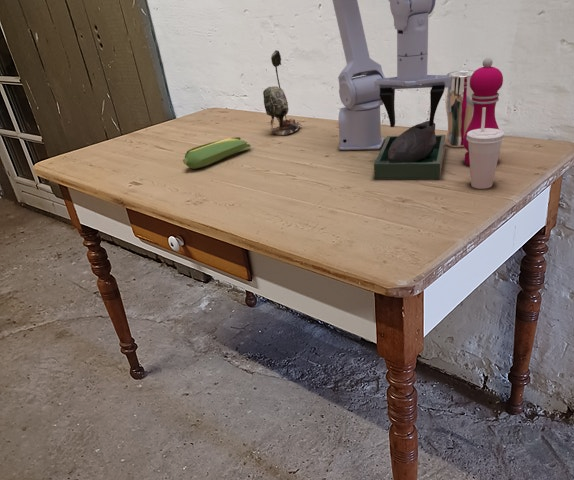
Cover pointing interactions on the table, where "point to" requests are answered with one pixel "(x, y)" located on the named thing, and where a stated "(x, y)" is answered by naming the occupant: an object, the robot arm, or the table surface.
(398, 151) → the perforated stone tool
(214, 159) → the edible corn
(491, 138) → the smoothie
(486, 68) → the pepper mill
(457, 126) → the beer glass
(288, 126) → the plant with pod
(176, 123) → the table surface
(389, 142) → the dish
